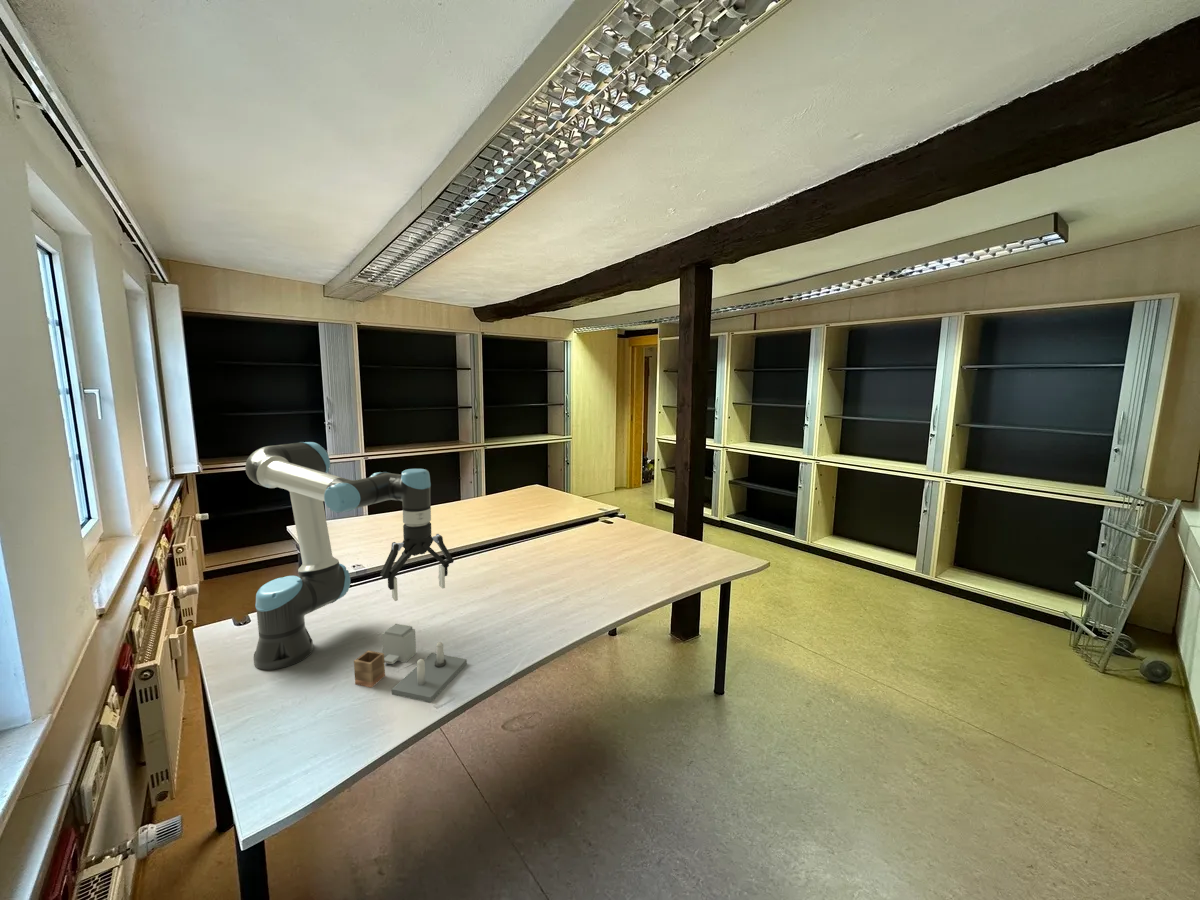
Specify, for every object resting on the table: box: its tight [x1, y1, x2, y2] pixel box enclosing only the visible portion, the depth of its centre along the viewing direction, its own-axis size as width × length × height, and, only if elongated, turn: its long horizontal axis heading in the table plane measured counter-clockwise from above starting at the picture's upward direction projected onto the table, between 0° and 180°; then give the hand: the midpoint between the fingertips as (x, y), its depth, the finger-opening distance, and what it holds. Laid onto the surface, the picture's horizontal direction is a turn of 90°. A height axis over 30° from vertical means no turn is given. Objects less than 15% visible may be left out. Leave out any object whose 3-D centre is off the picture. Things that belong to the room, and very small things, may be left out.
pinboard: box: [391, 641, 468, 703], centre depth 132 cm, size 12×18×8 cm, turn 165°
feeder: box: [381, 623, 417, 665], centre depth 141 cm, size 8×8×9 cm
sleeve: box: [353, 650, 386, 688], centre depth 131 cm, size 5×5×7 cm
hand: (419, 592), depth 136 cm, fingers open, 13 cm apart
